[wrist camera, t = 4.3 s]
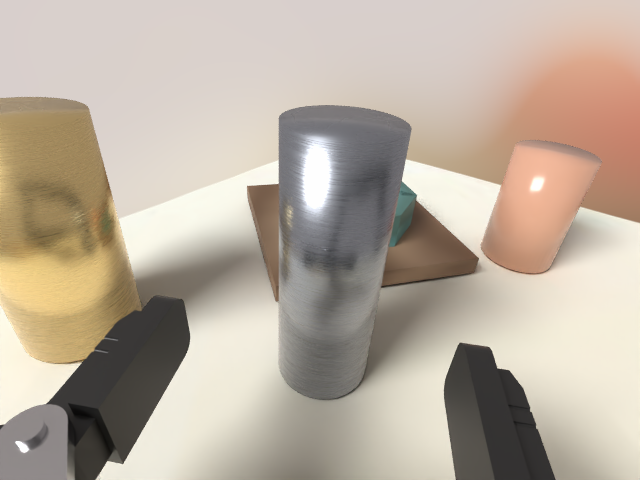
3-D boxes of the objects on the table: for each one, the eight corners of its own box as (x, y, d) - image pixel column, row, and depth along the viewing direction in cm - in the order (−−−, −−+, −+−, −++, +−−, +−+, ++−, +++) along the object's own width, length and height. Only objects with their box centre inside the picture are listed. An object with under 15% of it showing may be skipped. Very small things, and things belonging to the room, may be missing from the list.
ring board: (388, 188, 37) (395, 152, 35) (473, 272, 26) (489, 227, 24) (247, 198, 34) (245, 159, 32) (275, 301, 22) (275, 250, 20)
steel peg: (348, 322, 21) (378, 104, 15) (379, 388, 18) (437, 140, 11) (271, 335, 20) (268, 105, 14) (288, 408, 17) (295, 145, 10)
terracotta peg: (518, 233, 31) (557, 139, 27) (566, 268, 27) (620, 164, 23) (467, 239, 30) (499, 141, 26) (510, 277, 26) (556, 168, 22)
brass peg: (146, 282, 23) (101, 97, 17) (135, 351, 19) (69, 134, 13) (42, 294, 22) (-47, 97, 16) (4, 373, 17) (-142, 138, 11)
